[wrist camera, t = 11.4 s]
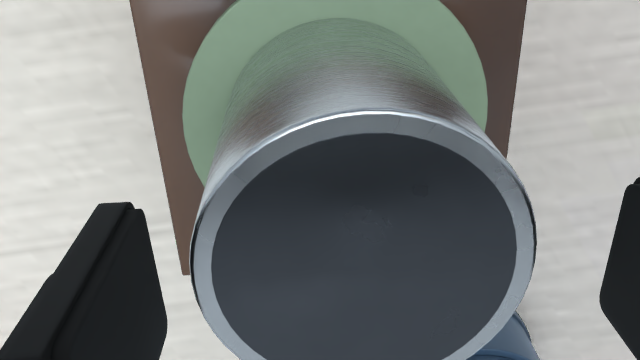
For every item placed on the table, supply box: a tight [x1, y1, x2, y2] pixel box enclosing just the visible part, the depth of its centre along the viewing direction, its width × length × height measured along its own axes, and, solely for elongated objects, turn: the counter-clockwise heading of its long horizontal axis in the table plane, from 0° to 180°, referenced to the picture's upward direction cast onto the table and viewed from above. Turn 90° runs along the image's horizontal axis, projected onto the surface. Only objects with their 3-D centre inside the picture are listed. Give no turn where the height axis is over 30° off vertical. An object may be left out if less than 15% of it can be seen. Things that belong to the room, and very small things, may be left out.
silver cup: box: [189, 18, 537, 360], centre depth 13 cm, size 6×6×7 cm
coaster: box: [182, 0, 488, 187], centre depth 17 cm, size 9×9×1 cm
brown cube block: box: [129, 0, 527, 275], centre depth 22 cm, size 11×11×12 cm
